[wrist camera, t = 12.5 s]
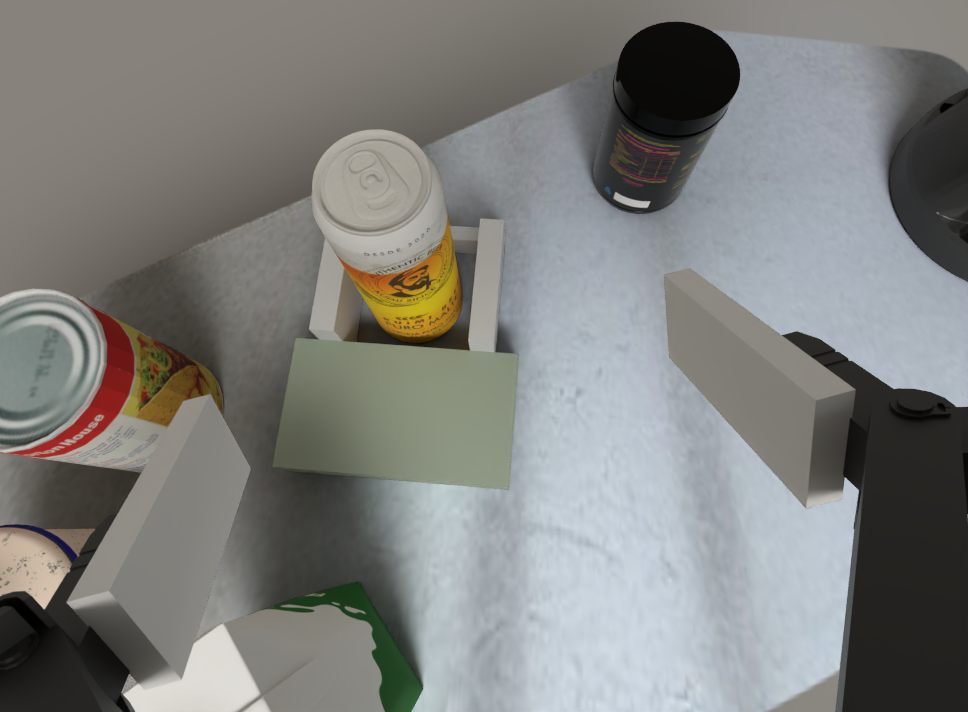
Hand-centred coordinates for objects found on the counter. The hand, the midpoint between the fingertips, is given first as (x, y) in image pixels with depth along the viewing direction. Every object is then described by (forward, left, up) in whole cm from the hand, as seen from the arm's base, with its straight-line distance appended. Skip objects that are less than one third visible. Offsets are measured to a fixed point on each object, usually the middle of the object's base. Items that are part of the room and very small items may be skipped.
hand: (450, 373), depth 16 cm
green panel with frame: (+5, -7, -21) cm, 23 cm away
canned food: (+21, -1, -21) cm, 30 cm away
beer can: (+5, -10, -21) cm, 24 cm away
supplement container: (-10, -21, -21) cm, 31 cm away
